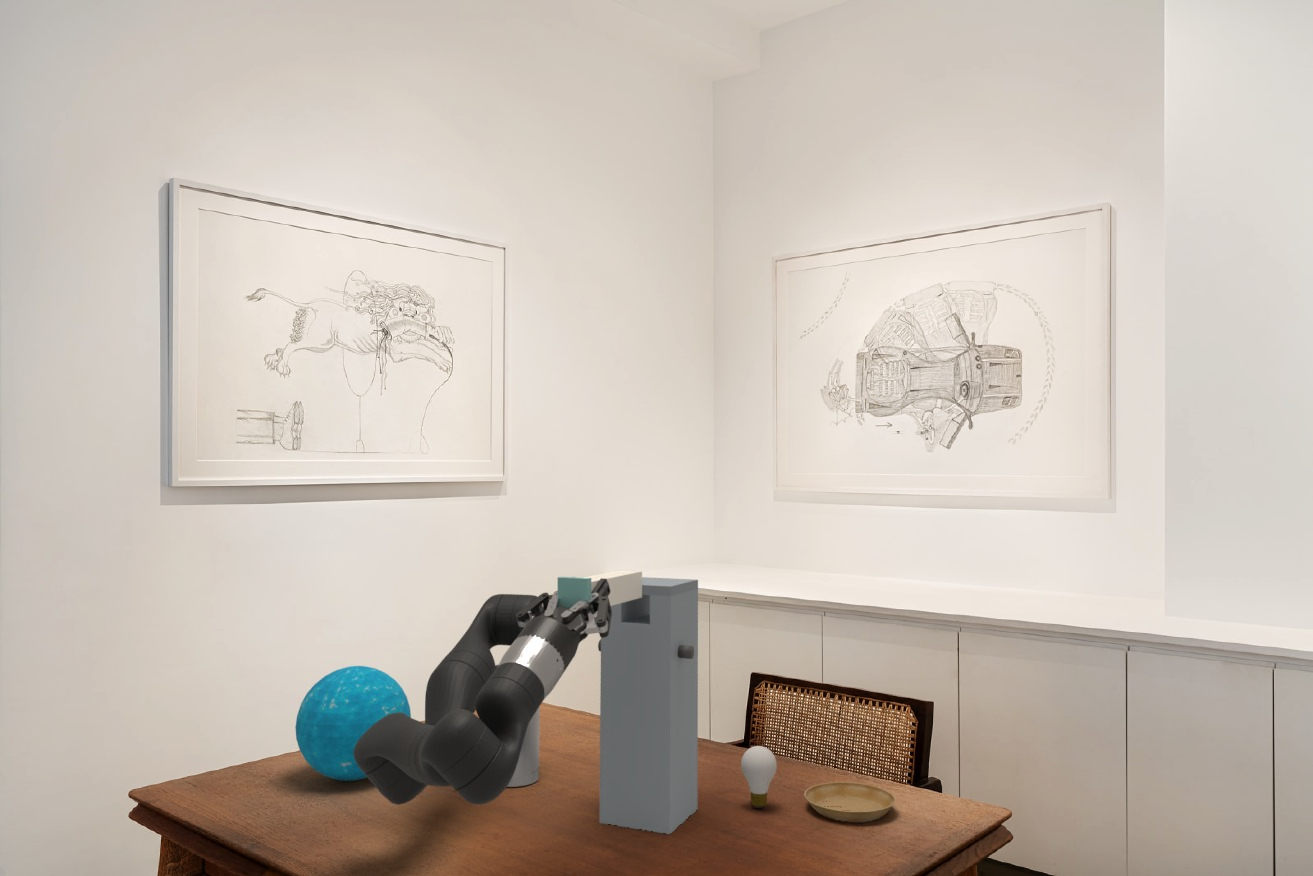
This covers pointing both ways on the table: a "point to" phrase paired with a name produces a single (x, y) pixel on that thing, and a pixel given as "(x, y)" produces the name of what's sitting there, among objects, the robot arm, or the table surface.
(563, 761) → the table surface
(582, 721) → the table surface
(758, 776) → the light bulb
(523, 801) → the table surface
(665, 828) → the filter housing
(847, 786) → the plant saucer
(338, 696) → the decorative sphere
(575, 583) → the block
